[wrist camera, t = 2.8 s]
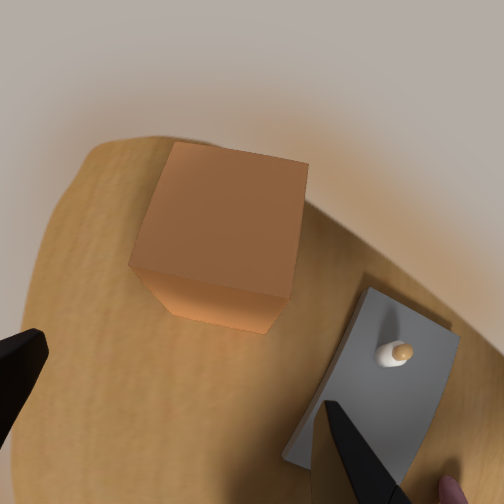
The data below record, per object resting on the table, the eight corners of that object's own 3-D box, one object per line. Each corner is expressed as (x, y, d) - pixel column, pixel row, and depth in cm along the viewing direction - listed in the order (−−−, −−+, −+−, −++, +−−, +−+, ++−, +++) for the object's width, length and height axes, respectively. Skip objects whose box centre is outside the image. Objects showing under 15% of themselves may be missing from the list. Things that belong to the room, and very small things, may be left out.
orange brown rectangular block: (265, 334, 21) (290, 298, 12) (173, 314, 21) (127, 265, 12) (280, 248, 23) (308, 163, 14) (195, 232, 23) (175, 141, 14)
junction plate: (384, 490, 16) (413, 507, 12) (280, 454, 18) (292, 473, 13) (449, 340, 21) (485, 329, 17) (361, 292, 22) (388, 272, 18)
